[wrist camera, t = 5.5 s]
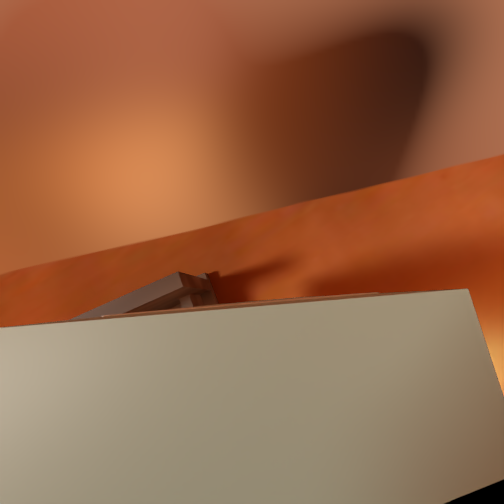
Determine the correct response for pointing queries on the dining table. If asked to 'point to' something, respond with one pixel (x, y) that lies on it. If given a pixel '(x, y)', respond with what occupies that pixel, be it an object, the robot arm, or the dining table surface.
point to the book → (255, 405)
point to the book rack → (161, 296)
